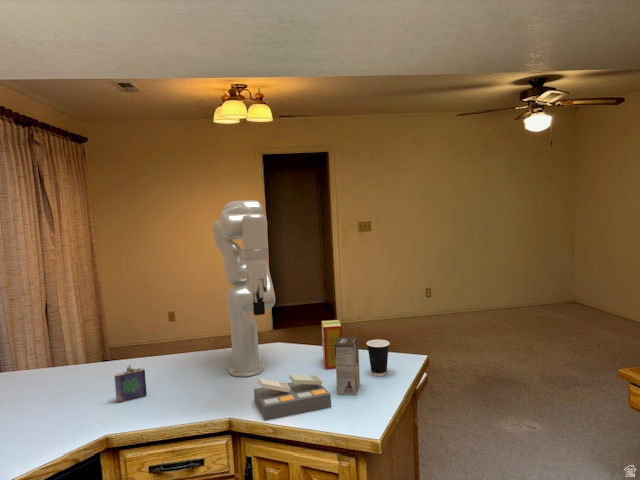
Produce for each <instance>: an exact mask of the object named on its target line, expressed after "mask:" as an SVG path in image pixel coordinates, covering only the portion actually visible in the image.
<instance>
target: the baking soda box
mask: <svg viewBox="0 0 640 480" xmlns="http://www.w3.org/2000/svg"><path fill="white" fill-rule="evenodd" d="M342 328H343V327H342V325H341V322H340V320H339V319H331V320H330V319H329V320H328V319H327V320H321V337H322V338H321V340H322V341H321V342H322V361H323V365H324V370H336V357H335V344H336V343H337V341H338V339H339V337H343V332H342V331H343V330H342Z"/></svg>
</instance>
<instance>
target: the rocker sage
mask: <svg viewBox="0 0 640 480" xmlns="http://www.w3.org/2000/svg"><path fill="white" fill-rule="evenodd" d="M288 377H289V380H290V381H291V382H293V383H294V384H314V385H322V386H323V380H322V379H321V378H320V376H318V375H316V374H315V375H311V374H292V373H291V374H289V376H288Z"/></svg>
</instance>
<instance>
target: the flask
mask: <svg viewBox="0 0 640 480" xmlns="http://www.w3.org/2000/svg"><path fill="white" fill-rule="evenodd" d="M146 381H147V380H146V370H145V369H144V368H141V367H140V368H139V367H136V368H133V367H132V366H131V365H128V366H126V371H123V372H119V373H116V374H115V375H114V387H115V401H116V403H124V402H128V401H133V400H134V399H136V400H137V399H141V398H145V397H147V393H148V392H147V382H146Z"/></svg>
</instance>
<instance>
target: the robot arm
mask: <svg viewBox="0 0 640 480" xmlns="http://www.w3.org/2000/svg"><path fill="white" fill-rule="evenodd" d="M267 219H268V218H267V217H266V215H265V214H264V208H263V205H262V203H261V202H260V201H259V200H255V199H249V200H245V199H244V200H231V201H229V202H228V203H226V204H225V205H224V207H223V209H222V211H221V214H220V216H219V219H218V220H216V221H215V222H214V223H213V226H212V233H213V239H214V241H215V244H216V246H217V247H216V248H218V250H219V252H220V254H221V256H222V259H223V265H224V270H225V276H226V281H227V282H228V284H229V285H230V286H232V287H231V288H229V289H228V290H227V292H226V296H225V297H226V305H227V309H228V314H229V322H230V336H231V337H230V339H231V350H232V351H231V352H232V353H231V354H232V355H231V356H232V366H230V368H229V369H228V373H229V374H230V375H231V376H233V377H238V378H241V377H242V378H244V377H252V376H257V375H258V374H261V373H262V372H263V371H264V368H265V367H264V364H263V363H261V362H260V357H259V337H258V334H259V333H258V323H257V320H256V319H255V317H254V316H261V315H265V313H266V310H269V309H272V308H274V306H275V303H276V294H275V289H274V285H273V280H272V277H271V272H270V269H269V265H268V264H267V260H269V258H270V257H269V241H268V238H269V237H268V220H267ZM234 240H242V246H240V245H239V244H238V243H236V242H235V241H234ZM250 312H253V315H254V316H252V315H251V314H250Z"/></svg>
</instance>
